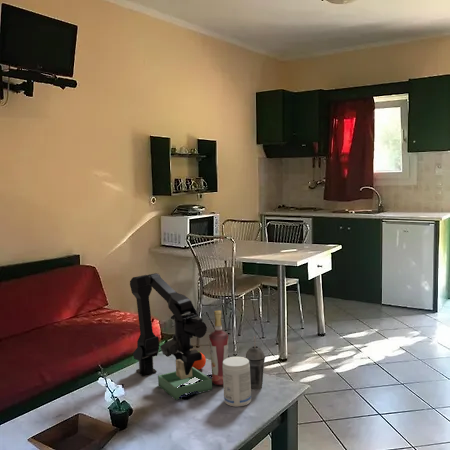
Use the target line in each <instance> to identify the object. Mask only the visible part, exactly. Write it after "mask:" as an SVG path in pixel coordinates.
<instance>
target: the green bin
mask: <svg viewBox="0 0 450 450" xmlns="http://www.w3.org/2000/svg"><path fill="white" fill-rule="evenodd" d="M194 377H196V378H198V379H201V380H203V381H200V382H197V383H193V384H189V385H185V386H182V387H178V386H179V385H181V384H184V383H186V382H188V381H189V380H190V379H192V378H194ZM157 382H158V383H157V384H158V387H159V388H161V389H162V390H163V391H164V392H165V393H167V395H169V396H170V397H171V398H172V397H173V398H172V399H173V400H175V401H177V399H178V400H180V399H179V397H180V396H181V395H183V394H185V393H189V392H194V391H198V392H203V391H206V392H209V391H208V390H210V391H212V390H213V382H212V378H210V377H209V376H208V375H206V374H204V373H203V372H201V371H200V370H197V369H195V368H194V367H192V377H188V378H185V379H181V378H179V377H178V376H177V375H176V370H175V371H170V372H167V373H163V374H159V375H157ZM177 387H178V388H177ZM203 393H204V392H203Z"/></svg>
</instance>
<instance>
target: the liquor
mask: <svg viewBox="0 0 450 450" xmlns="http://www.w3.org/2000/svg"><path fill="white" fill-rule="evenodd" d="M213 313H214V314H213V315H214V331H212V332H211V333H209V335H208V341H209V351H210V362H211V363H210V364H211V379H212V384H214V385H215V386H223V361H224V360H225V359H226V358H229V333H228V332H226V331H224V330H223V325H222V316H223V315H222V310H214V312H213Z"/></svg>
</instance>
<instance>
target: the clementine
mask: <svg viewBox="0 0 450 450" xmlns="http://www.w3.org/2000/svg"><path fill="white" fill-rule="evenodd" d="M200 353H201V354H202V360H198V361H195V362H194V364H193V366H192V367H194V368H195V369H197V370H198V371H200V370H201V369H203V368H204V367H205V366H206V363H207V360H206V358H207V357H206V356H205V354H203V353H202V352H200Z"/></svg>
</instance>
